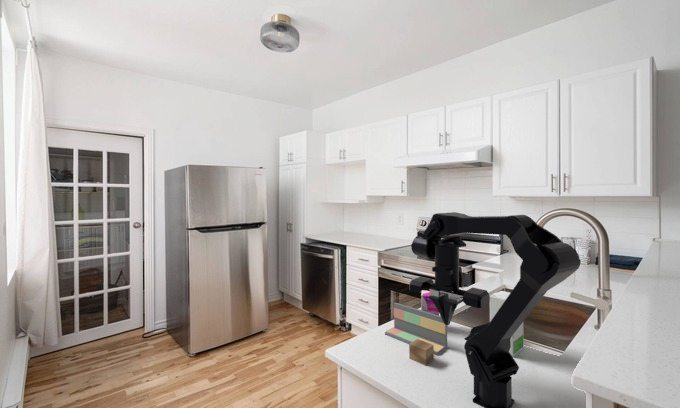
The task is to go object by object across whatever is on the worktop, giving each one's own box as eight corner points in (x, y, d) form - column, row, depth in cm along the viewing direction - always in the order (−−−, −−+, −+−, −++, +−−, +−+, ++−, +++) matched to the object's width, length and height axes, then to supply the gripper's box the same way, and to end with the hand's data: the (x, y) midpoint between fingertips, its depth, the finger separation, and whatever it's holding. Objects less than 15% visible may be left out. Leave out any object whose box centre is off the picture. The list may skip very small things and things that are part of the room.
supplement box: (420, 329, 102) (420, 295, 101) (421, 322, 107) (421, 289, 107) (439, 331, 100) (439, 296, 100) (439, 324, 106) (438, 290, 105)
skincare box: (512, 358, 83) (512, 301, 83) (487, 349, 88) (487, 295, 88) (524, 348, 89) (524, 294, 88) (500, 340, 94) (500, 289, 93)
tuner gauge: (447, 348, 89) (447, 317, 89) (436, 356, 85) (436, 324, 85) (396, 329, 102) (395, 302, 102) (384, 335, 98) (384, 307, 98)
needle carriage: (437, 357, 84) (436, 342, 84) (425, 365, 80) (425, 350, 80) (420, 350, 88) (420, 336, 88) (409, 358, 84) (409, 343, 84)
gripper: (498, 263, 76) (498, 325, 76) (429, 253, 89) (430, 306, 90) (479, 271, 68) (479, 341, 69) (407, 259, 82) (408, 317, 82)
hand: (447, 324), depth 78 cm, fingers closed
